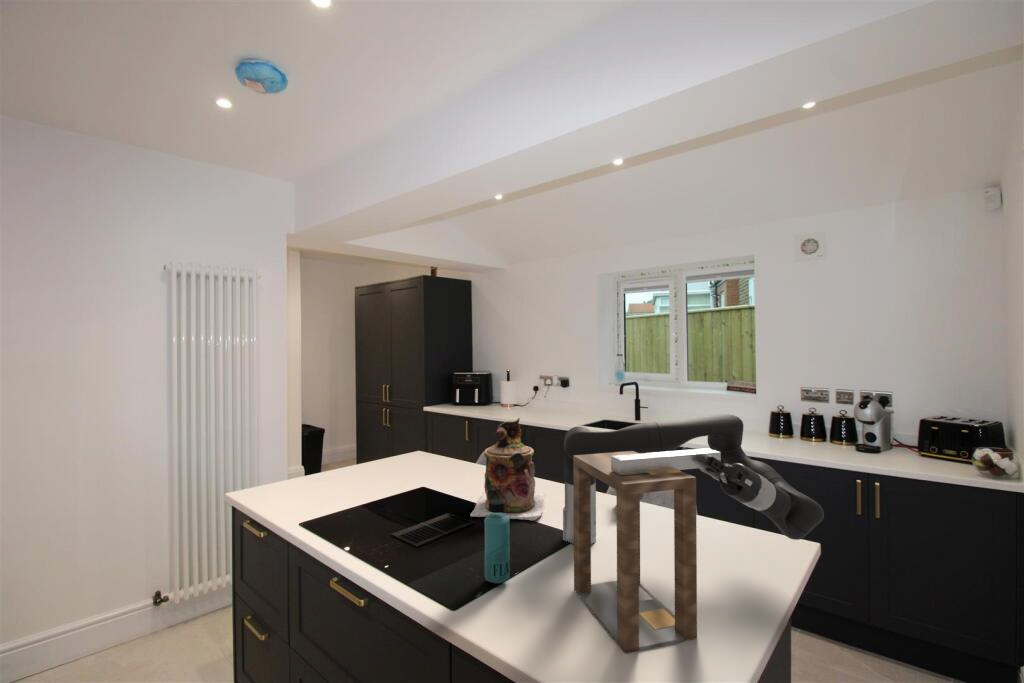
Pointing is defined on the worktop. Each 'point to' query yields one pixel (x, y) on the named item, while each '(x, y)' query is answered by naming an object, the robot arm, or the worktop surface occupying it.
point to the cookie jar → (510, 476)
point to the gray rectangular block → (662, 461)
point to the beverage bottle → (497, 543)
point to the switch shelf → (636, 556)
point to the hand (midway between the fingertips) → (694, 455)
